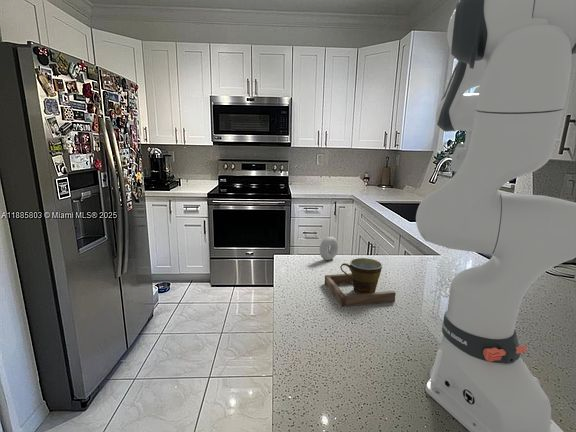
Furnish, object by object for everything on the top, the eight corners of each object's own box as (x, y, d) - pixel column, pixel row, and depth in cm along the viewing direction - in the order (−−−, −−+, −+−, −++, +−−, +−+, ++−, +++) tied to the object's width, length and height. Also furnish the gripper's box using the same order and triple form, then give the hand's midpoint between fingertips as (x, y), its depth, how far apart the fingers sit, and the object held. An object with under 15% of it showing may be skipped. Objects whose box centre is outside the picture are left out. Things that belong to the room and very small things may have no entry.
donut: (333, 256, 137) (334, 233, 134) (339, 258, 134) (340, 235, 132) (317, 261, 130) (318, 238, 128) (323, 263, 128) (324, 239, 126)
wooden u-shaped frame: (394, 301, 97) (395, 292, 97) (342, 306, 94) (342, 297, 93) (370, 279, 113) (371, 271, 112) (324, 283, 109) (324, 275, 109)
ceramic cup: (378, 287, 107) (381, 259, 105) (381, 301, 97) (383, 270, 95) (340, 283, 110) (341, 256, 107) (338, 296, 100) (339, 266, 98)
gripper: (448, 142, 104) (443, 184, 107) (501, 142, 85) (493, 193, 88) (464, 142, 106) (459, 184, 109) (520, 142, 86) (512, 193, 89)
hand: (474, 188), depth 98 cm, fingers closed
